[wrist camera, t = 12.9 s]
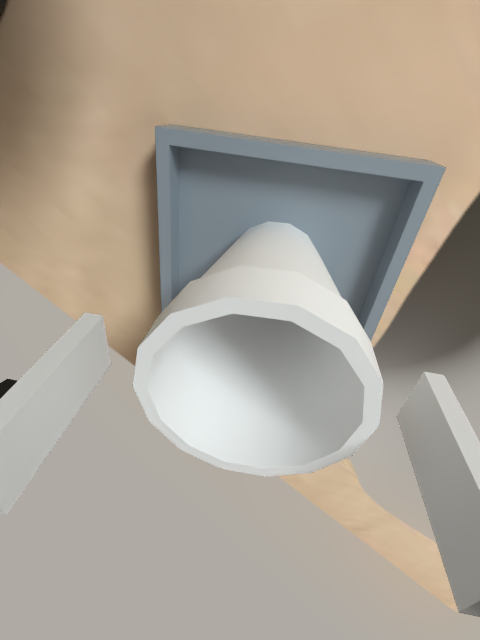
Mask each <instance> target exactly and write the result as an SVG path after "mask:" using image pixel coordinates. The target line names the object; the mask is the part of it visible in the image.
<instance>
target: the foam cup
mask: <svg viewBox="0 0 480 640" xmlns="http://www.w3.org/2000/svg"><path fill="white" fill-rule="evenodd" d="M133 388H134V390H135V392H136V394H137V397H138V399H139V401H140V403H141V405H142V407H143V409H144V411H145V414H146V416H147V418H148V420H149V422H150V423H151V424H152V425H154V426H155V427H156V428H157V429H158V430H159V431H160V432H161V433H162V434H164V435H165V436H166V437H167V438H168V439H169V440H170V441H172V442H173V443H174V444H175V445H176V446H177V447H178V448H179V449H180V450H182V451H184V452H187V453H189V454H191V455H193V456H195V457H197V458H199V459H202V460H204V461H206V462H208V463H210V464H212V465H215V466H217V467H219V468H222V469H226V470H232V471H238V472H243V473H249V474H255V475H260V476H266V477H268V476H280V475H292V474H304V473H313V472H315V471H317V470H320V469H322V468H324V467H327V466H329V465H332V464H334V463H336V462H339V461H341V460H343V459H346V458H348V457H351V456H352V455H353V454H354V453H355V452H356V451H357V450H358V449H359V447H360V446H361V445H362V444H363V443H364V442H365V441H366V440H367V438H368V437H369V436H370V435H371V434H372V433H373V432H374V431H375V430H376V428H377V427H378V426H379V422H380V413H381V403H382V393H383V380H382V377H381V374H380V371H379V367H378V364H377V361H376V357H375V354H374V351H373V348H372V344H371V341H370V339H369V338H368V336H367V334H366V333H365V331H364V329H363V328H362V326H361V324H360V322H359V321H358V319H357V317H356V316H355V314H354V312H353V311H352V309H351V307H350V305H349V304H348V302H347V301H346V300H345V299H343V298H342V297H341V295H340V293H339V291H338V289H337V287H336V286H335V284H334V282H333V280H332V278H331V276H330V274H329V272H328V270H327V268H326V267H325V265H324V263H323V261H322V259H321V257H320V255H319V253H318V252H317V250H316V248H315V247H314V245H313V243H312V242H311V240H310V238H309V237H308V235H307V234H305V233H304V232H302V231H301V230H299V229H297V228H296V227H294V226H293V225H291V224H288V223H279V222H269V221H268V222H265V223H262V224H260V225H257V226H254V227H251V228H249V229H248V230H246V231H245V232H244V233H243V235H242V236H241V237H240V238H239V239H238V240H237V241H236V242H235V243H234V244H233V245H232V246H231V247H230V248H229V249H228V250H227V251H226V252H225V253H224V254H223V255H222V256H221V257H220V258H219V259H218V260H217V261H216V263H215V264H214V265H213V266H212V267H211V268H210V269H209V270H208V271H207V272H206V273H205V274H204V275H203V276H202V277H201V278H199V279H196V280H193V281H190V282H189V283H188V284H187V285H186V287H185V288H184V289H183V290H182V291H181V292H180V293H179V294H178V295H177V296H176V297H175V298H174V299H173V300H172V301H171V302H170V304H169V305H168V306H167V307H166V308H165V309H164V310H163V311H162V312H161V313H160V315H159V316H158V318H157V319H156V321H155V322H154V324H153V325H152V327H151V328H150V330H149V331H148V333H147V334H146V336H145V337H144V339H143V340H142V342H141V343H140V345H139V346H138V349H137V357H136V365H135V372H134V381H133Z"/></svg>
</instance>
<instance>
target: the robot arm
mask: <svg viewBox="0 0 480 640" xmlns="http://www.w3.org/2000/svg"><path fill="white" fill-rule="evenodd" d="M5 1H6V0H0V15H1V12H2V10H3V7H4V4H5ZM110 365H111V360H110V354H109V348H108V342H107V337H106V331H105V325H104V319H103V316H102V315H97V314H91V313H84V314H83V315H82V316H81V317H80V318H79V319H78V320H77V321H76V322H75V323H74V324H73V325H72V326H71V327H70V328H69V330H67V332H66V333H65V334H64V335H63V336H62V337H61V338H60V339H59V340H58V341H57V342H56V343H55V344H54V345H53V346H52V347H51V348H50V349H49V350H48V351H47V352H46V353H45V354H44V355H43V356H42V357H41V358H40V359H39V360H38V361H37V362H36V363H35V364H34V365H33V366H32V367H31V368H30V369H29V370H28V371H27V372H26V373H25V374H24V375H23V376H22V377H21V378H20V379H19V380H18V381H16V380H11V379H6V380H5V381H3V382H1V383H0V514H2V515H7V513H8V512H9V511H10V509H11V508H12V506H13V505H14V503H15V502H16V500H17V499H18V498H19V496H20V495H21V493H22V492H23V490H24V489H25V487H26V486H27V485H28V483H29V482H30V480H31V479H32V477H33V476H34V475H35V473H36V472H37V470H38V469H39V467H40V466H41V464H42V463H43V461H44V460H45V459H46V457H47V456H48V454H49V453H50V451H51V450H52V449H53V447H54V446H55V444H56V443H57V441H58V440H59V439H60V437H61V435H62V434H63V433H64V431H65V430H66V428H67V427H68V426H69V424H70V423H71V421H72V420H73V418H74V417H75V415H76V414H77V413H78V411H79V410H80V408H81V407H82V405H83V404H84V403H85V401H86V400H87V398H88V397H89V395H90V394H91V392H92V391H93V390H94V388H95V387H96V385H97V384H98V382H99V381H100V379H101V378H102V377H103V375H104V374H105V372H106V371H107V369H108V368H109V367H110ZM397 419H398V422H399V425H400V428H401V431H402V435H403V438H404V441H405V444H406V447H407V451H408V454H409V457H410V460H411V463H412V466H413V469H414V473H415V476H416V479H417V482H418V485H419V488H420V491H421V494H422V498H423V501H424V504H425V507H426V511H427V513H428V517H429V520H430V523H431V526H432V530H433V533H434V536H435V539H436V542H437V545H438V549H439V552H440V555H441V558H442V561H443V564H444V567H445V571H446V574H447V577H448V580H449V583H450V586H451V590H452V593H453V596H454V599H455V602H456V605H457V609H458V612H459V613H464V614H469V615H473V616H478V617H480V442H479V440H478V438H477V436H476V435H475V433H474V431H473V429H472V427H471V425H470V423H469V421H468V419H467V418H466V416H465V414H464V412H463V410H462V408H461V406H460V404H459V403H458V401H457V399H456V397H455V395H454V393H453V391H452V390H451V388H450V386H449V384H448V382H447V380H446V378H445V376H444V375H439V374H434V373H428V372H424V373H423V374H422V376H421V378H420V379H419V381H418V383H417V384H416V386H415V387H414V389H413V390H412V392H411V394H410V395H409V397H408V399H407V400H406V402H405V403H404V405H403V407H402V408H401V410H400V412H399V413H398V415H397Z"/></svg>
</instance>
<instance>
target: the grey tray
mask: <svg viewBox="0 0 480 640" xmlns="http://www.w3.org/2000/svg"><path fill="white" fill-rule="evenodd" d="M155 142H156V170H157V198H158V226H159V254H160V282H161V310H162V311H163V310H164V309H165V308H166V307H167V306H168V305H169V304H170V302H171V301H172V300H173V299H174V298H175V297H176V296H177V295H178V294H179V293H180V292H181V291H182V290H183V289H184V288H185V287H186V285H187V284H188V283H189V282H190V281H193V280H196V279H199V278H201V277H202V276H203V275H204V274H205V273H206V272H207V271H208V270H209V269H210V268H211V267H212V266H213V265H214V264H215V263H216V261H217V260H218V259H219V258H220V257H221V256H222V255H223V254H224V253H225V252H226V251H227V250H228V249H229V248H230V247H231V246H232V245H233V244H234V243H235V242H236V241H237V240H238V239H239V238H240V237H241V236H242V235H243V233H244V232H245V231H246V230H248V229H249V228H251V227H254V226H257V225H260V224H262V223H265V222H268V221H269V222H279V223H288V224H291V225H293V226H294V227H296V228H297V229H299V230H301V231H302V232H304V233H305V234H307V235H308V237H309V238H310V240H311V242H312V243H313V245H314V247H315V248H316V250H317V252H318V253H319V255H320V257H321V259H322V261H323V263H324V265H325V267H326V268H327V270H328V272H329V274H330V276H331V278H332V280H333V282H334V284H335V286H336V287H337V289H338V291H339V293H340V295H341V297H342V298H343V299H345V300H346V301H347V302H348V304H349V305H350V307H351V309H352V311H353V312H354V314H355V316H356V317H357V319H358V321H359V322H360V324H361V326H362V328H363V329H364V331H365V333H366V334H367V336H368V338H369V339H370V341H371V339H372V337H373V335H374V332H375V330H376V328H377V325H378V323H379V321H380V319H381V316H382V314H383V312H384V309H385V307H386V305H387V302H388V300H389V298H390V295H391V293H392V291H393V289H394V286H395V284H396V282H397V279H398V277H399V275H400V272H401V270H402V268H403V266H404V263H405V261H406V259H407V256H408V254H409V252H410V249H411V247H412V245H413V243H414V240H415V238H416V236H417V233H418V231H419V229H420V226H421V224H422V222H423V220H424V217H425V215H426V213H427V210H428V208H429V206H430V203H431V201H432V199H433V197H434V194H435V192H436V190H437V187H438V185H439V183H440V180H441V178H442V176H443V173H444V171H445V169H446V167H444V166H441V165H439V164H436V163H434V162H432V161H429V160H422V159H415V158H408V157H400V156H393V155H386V154H379V153H372V152H365V151H357V150H350V149H343V148H336V147H329V146H322V145H314V144H307V143H300V142H293V141H286V140H279V139H271V138H264V137H257V136H250V135H243V134H236V133H228V132H221V131H214V130H207V129H200V128H193V127H185V126H178V125H171V124H170V125H163V126H155Z"/></svg>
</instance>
